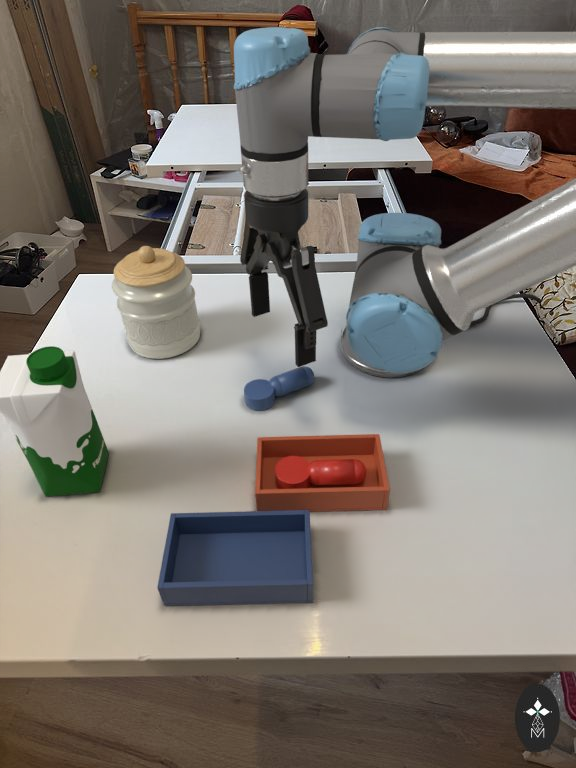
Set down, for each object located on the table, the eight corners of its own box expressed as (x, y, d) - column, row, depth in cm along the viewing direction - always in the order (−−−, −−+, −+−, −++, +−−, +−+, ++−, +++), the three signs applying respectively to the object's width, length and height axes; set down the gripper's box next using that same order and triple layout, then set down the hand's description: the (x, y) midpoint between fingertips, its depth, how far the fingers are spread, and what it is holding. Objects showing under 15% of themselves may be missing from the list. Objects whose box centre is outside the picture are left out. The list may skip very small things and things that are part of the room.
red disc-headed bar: (363, 465, 71) (365, 449, 69) (367, 493, 68) (369, 477, 65) (276, 467, 71) (275, 451, 69) (275, 495, 68) (274, 480, 66)
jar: (149, 371, 88) (125, 276, 76) (115, 335, 96) (88, 245, 84) (215, 340, 94) (202, 248, 82) (178, 309, 102) (161, 221, 90)
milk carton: (106, 497, 69) (57, 381, 56) (35, 503, 69) (-32, 388, 55) (116, 446, 75) (75, 332, 62) (52, 452, 75) (-4, 338, 62)
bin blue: (309, 529, 64) (309, 509, 62) (312, 602, 58) (313, 584, 55) (176, 532, 65) (170, 513, 62) (164, 606, 58) (157, 587, 55)
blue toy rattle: (306, 372, 86) (306, 357, 84) (320, 389, 83) (320, 373, 81) (240, 396, 83) (238, 381, 81) (252, 414, 80) (251, 399, 77)
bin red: (376, 453, 73) (379, 433, 71) (386, 509, 66) (390, 490, 64) (259, 456, 73) (257, 437, 71) (257, 513, 66) (254, 493, 64)
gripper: (206, 162, 69) (223, 302, 83) (300, 238, 52) (301, 397, 66) (258, 152, 71) (266, 289, 85) (363, 221, 55) (352, 377, 69)
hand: (282, 336), depth 76 cm, fingers open, 13 cm apart
